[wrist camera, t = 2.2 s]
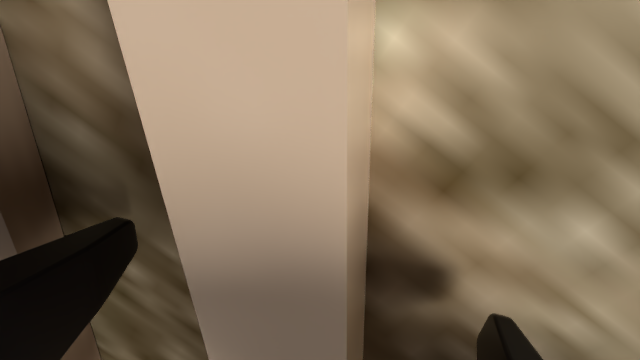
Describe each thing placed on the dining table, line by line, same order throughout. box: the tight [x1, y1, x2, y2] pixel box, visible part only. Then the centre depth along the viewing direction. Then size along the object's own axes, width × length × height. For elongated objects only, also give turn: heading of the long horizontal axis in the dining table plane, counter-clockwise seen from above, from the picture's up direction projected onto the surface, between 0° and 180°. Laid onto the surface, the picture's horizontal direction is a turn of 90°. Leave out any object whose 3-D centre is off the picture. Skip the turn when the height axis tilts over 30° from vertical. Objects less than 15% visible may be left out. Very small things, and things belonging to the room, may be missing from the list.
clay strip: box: [107, 0, 376, 360], centre depth 9 cm, size 16×3×4 cm, turn 2°
